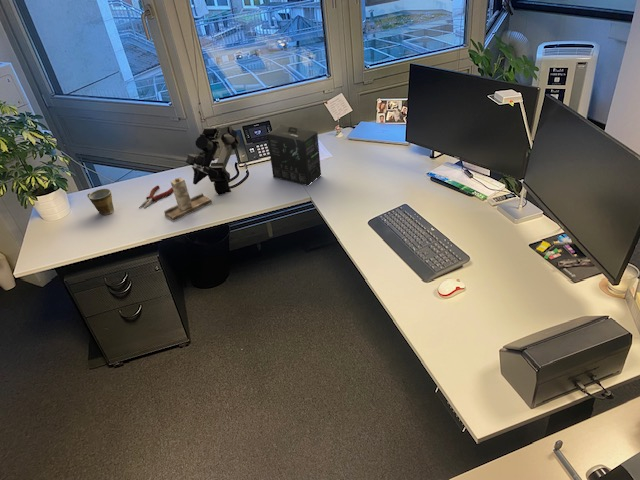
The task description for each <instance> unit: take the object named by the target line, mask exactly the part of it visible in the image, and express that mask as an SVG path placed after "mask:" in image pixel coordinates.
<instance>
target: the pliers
mask: <svg viewBox="0 0 640 480" xmlns="http://www.w3.org/2000/svg"><path fill="white" fill-rule="evenodd" d="M158 190H160V186H159V185H156V186H155V187H153V188H152V189H151V190H150V192H149V195H148V196H146V197H145V199H146V200H145V201H144V202H143V203H141V205H140V206H139V207H138V208H139V209H141V208H143V209H146V208H147V207H148V206H150V205H152V204H153V203H157V201H160V200H161V199H164V198H166V197H168V196H170V195H172V194H174V191H173V188H172V187H170V188H169V189H168V190H166V191H165V192H161V193H160V194H157V195H155V193H156V192H157V191H158Z"/></svg>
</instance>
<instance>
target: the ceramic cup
mask: <svg viewBox="0 0 640 480" xmlns="http://www.w3.org/2000/svg"><path fill="white" fill-rule="evenodd" d="M111 191H112V190H111V189H109V188H100V189H96V190H94V191H92V192H91V193H88V194H87V198H88V200H89V201H90V203H91V204H92V205H93V207H95V209H96V210H97V212H98V214H100V215H101V216H109V215H111V214H112V213H114V212H115V207H114V203H113V195H112V192H111Z"/></svg>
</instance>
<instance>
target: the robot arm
mask: <svg viewBox="0 0 640 480" xmlns="http://www.w3.org/2000/svg"><path fill="white" fill-rule="evenodd" d="M238 133H239V132H237V131H236V130H234V128H233V127H232V126H231V125H221V126H205V127H203V129H202V131H201V133H200V134H199V136H198V137H197V139H196V140H195V146H196V148H197V149H200V150H201V151H199V152H198V154H193V153H188V154H187V158H186V161H185V163H186V164H188V165H190V166H191V168H192V171H193V181H192V184H193V185H197V184H198V183H200V182H201V181H202V180H203V179H205V178H206V177H208V179H209V181H210V183H213V188H214V191H215V193H216V194H217V195H218V196H220V195H225V194H228V193H231V192H232V190H231V188H230V184H229V181H231V173H230V172H228V171H227V169H226V168H227V165H228V163H229V161H230V158H231V156H232V153H233V151H234V150H236V149H238V147H239V145H240V144H241V138H240V135H239V134H238ZM217 140H218V141H219V140H221V142H222V145H223V147H222V149H221V151H220V154H219V156H218V158H217V160H216V162H215V158H214V157H215V155H216V153H217V151H218V149H220V148H221V146H220V142H218V141H217ZM212 161H213V162H212Z"/></svg>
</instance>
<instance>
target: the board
mask: <svg viewBox="0 0 640 480" xmlns="http://www.w3.org/2000/svg"><path fill="white" fill-rule="evenodd" d="M190 200H191V203H192V207H190V208H188V209H186V210H184V211H183V210H181V209H179V207H178V204H176V205H173V206H171V207H170V208H168V209H165V210H164V212H163V213H164V215H165V216H166V217H167V218H168V219H170V220H172V222H173V221H174V222H175V221H177V220H179V219H181V218H183V217H185V216H186V215H188V214H191V213H192V212H195V211H197V210H199V209H201V208H203V207H205V206H208V205H209V204H211V203H212V199H211V198H208V196H205V195H204V192H203V193H202V192H201V193H199V194H197V195H195V196H192V197H190Z"/></svg>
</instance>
